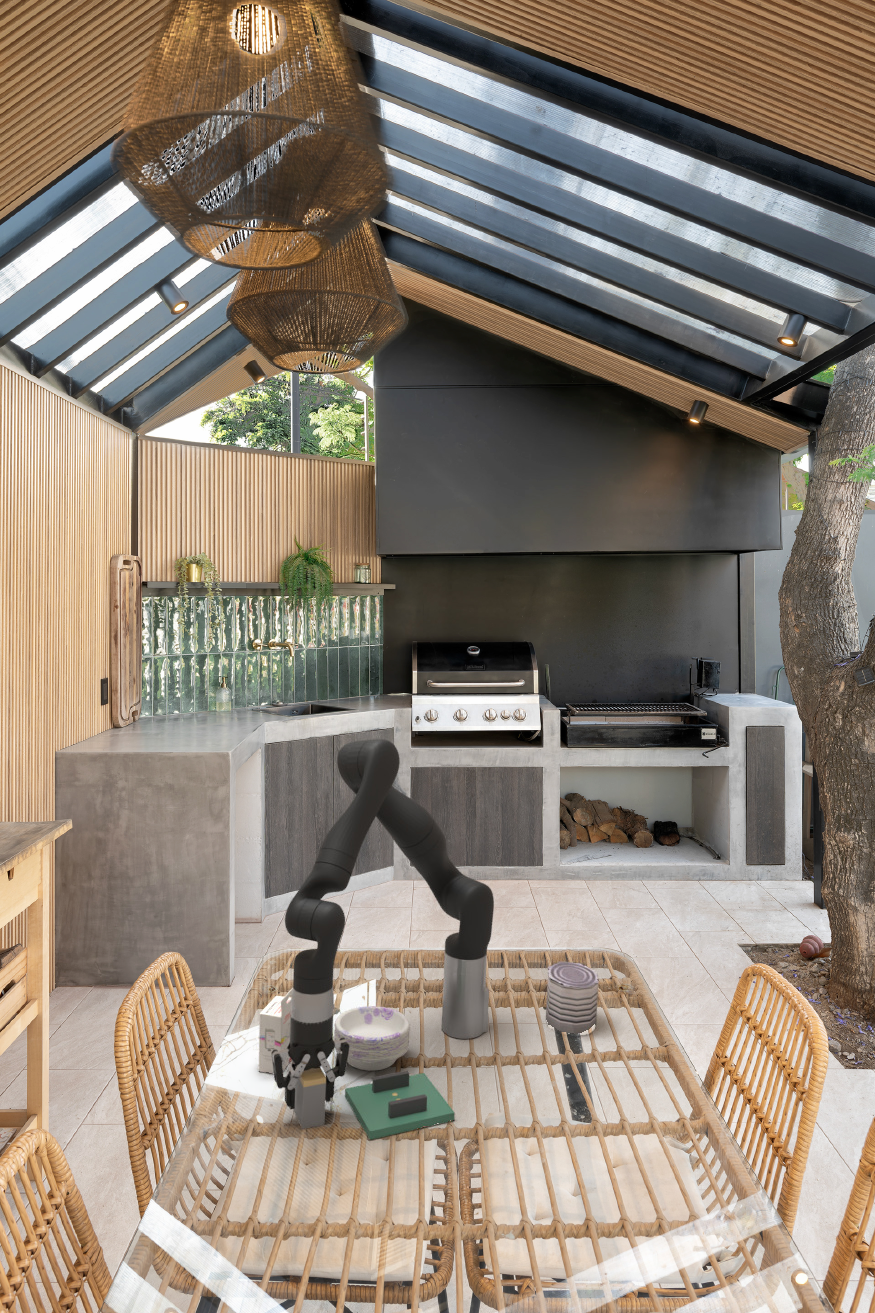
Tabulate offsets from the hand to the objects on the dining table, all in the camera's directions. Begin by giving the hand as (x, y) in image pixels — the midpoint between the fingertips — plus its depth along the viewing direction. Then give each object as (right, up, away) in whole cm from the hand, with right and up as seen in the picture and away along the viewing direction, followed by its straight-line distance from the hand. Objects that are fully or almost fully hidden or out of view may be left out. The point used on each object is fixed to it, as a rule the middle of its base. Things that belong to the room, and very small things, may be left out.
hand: (309, 1103), depth 151 cm
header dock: (+16, -3, +4) cm, 16 cm away
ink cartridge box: (-9, -2, +18) cm, 20 cm away
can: (+53, -3, +39) cm, 66 cm away
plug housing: (0, -3, 0) cm, 3 cm away
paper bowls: (+9, -2, +21) cm, 23 cm away
